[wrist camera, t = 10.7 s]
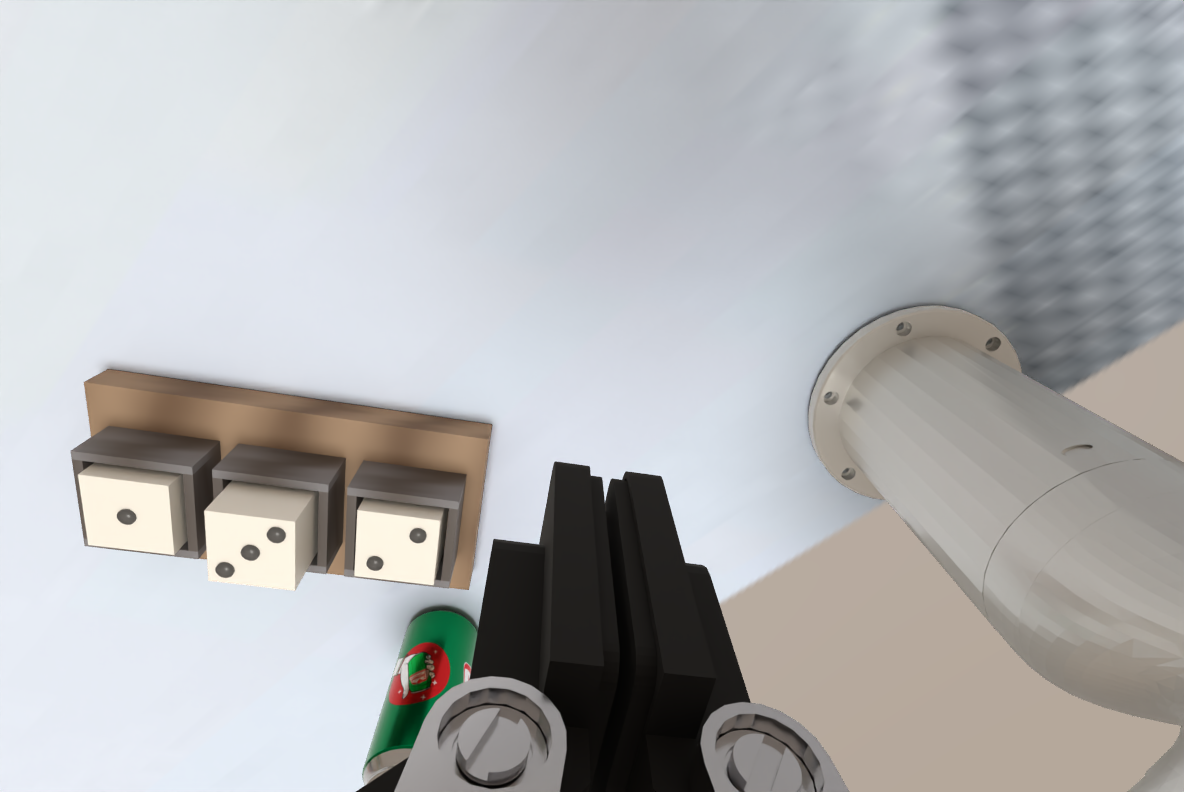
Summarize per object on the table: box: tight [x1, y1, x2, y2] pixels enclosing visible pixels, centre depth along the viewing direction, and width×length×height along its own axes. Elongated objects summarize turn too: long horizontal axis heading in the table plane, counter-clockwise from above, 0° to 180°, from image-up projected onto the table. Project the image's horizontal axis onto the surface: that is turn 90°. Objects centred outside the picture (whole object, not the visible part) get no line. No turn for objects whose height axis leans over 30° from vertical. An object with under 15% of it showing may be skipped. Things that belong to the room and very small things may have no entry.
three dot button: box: [204, 480, 319, 591], centre depth 35 cm, size 4×4×4 cm
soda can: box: [362, 610, 477, 785], centre depth 40 cm, size 5×5×12 cm
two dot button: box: [354, 497, 449, 585], centre depth 37 cm, size 4×4×4 cm
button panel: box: [71, 369, 492, 590], centre depth 38 cm, size 22×11×5 cm, turn 80°
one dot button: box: [78, 462, 188, 555], centre depth 35 cm, size 4×4×4 cm
